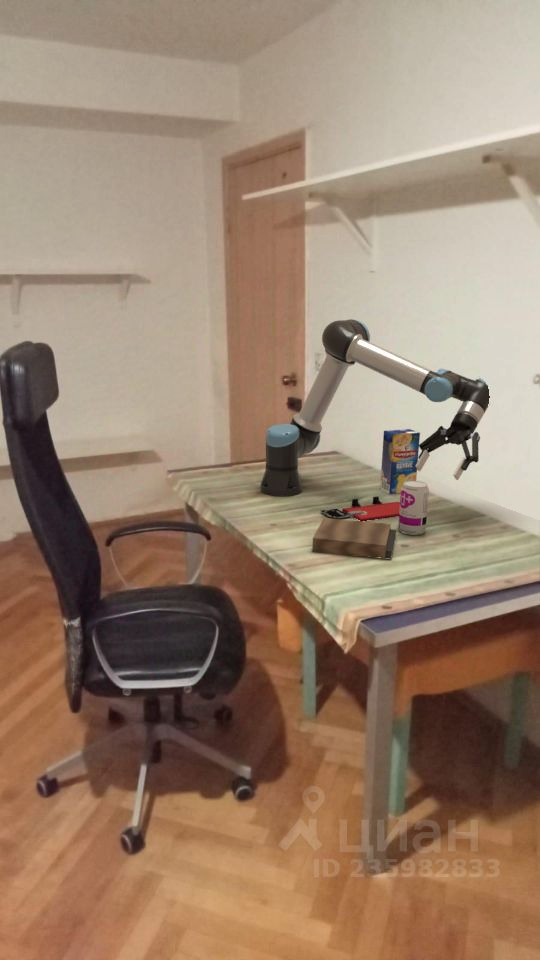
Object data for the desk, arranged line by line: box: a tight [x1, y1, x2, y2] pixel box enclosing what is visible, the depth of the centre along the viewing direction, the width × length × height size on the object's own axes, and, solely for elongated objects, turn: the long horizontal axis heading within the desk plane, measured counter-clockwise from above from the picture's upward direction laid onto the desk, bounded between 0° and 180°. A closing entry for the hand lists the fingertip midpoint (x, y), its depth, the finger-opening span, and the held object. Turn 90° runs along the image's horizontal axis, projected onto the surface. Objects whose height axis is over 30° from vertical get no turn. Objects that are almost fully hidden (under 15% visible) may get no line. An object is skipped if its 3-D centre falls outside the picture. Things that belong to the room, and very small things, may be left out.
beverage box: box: [379, 428, 421, 495], centre depth 243 cm, size 7×11×22 cm, turn 111°
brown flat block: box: [311, 517, 397, 559], centre depth 191 cm, size 22×18×4 cm
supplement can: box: [397, 480, 430, 536], centre depth 201 cm, size 8×8×15 cm
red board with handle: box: [320, 496, 400, 522], centre depth 220 cm, size 30×3×15 cm
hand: (436, 473), depth 205 cm, fingers open, 13 cm apart
